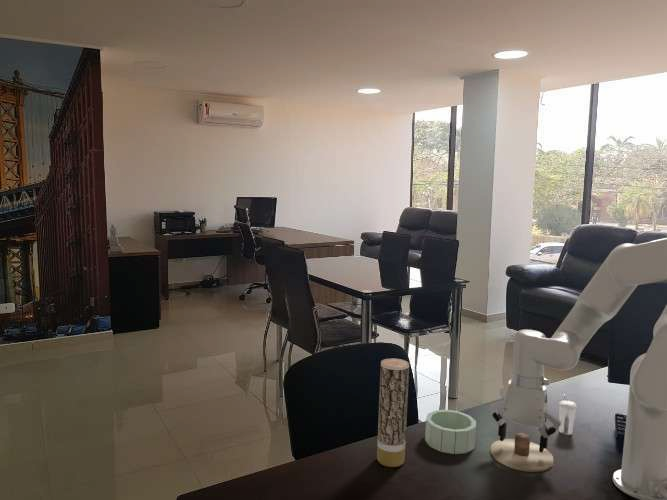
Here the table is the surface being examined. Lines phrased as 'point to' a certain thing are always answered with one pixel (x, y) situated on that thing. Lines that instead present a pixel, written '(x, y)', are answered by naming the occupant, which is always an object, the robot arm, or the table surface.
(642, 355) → the robot arm
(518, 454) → the lid
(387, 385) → the log-textured cylinder
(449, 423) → the bowl
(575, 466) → the table surface
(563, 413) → the milkshake
